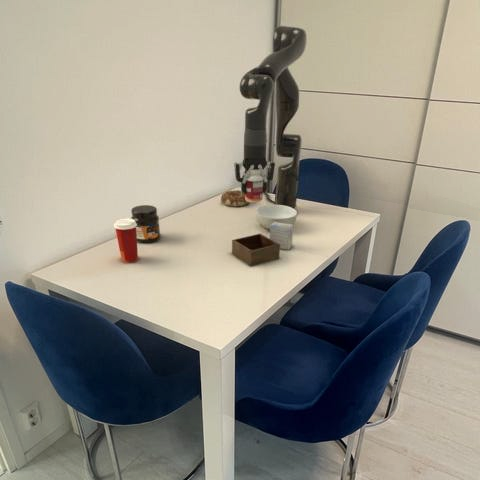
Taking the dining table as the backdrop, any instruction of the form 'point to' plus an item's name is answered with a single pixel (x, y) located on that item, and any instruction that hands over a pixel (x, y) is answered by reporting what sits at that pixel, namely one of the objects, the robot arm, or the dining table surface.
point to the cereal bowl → (275, 215)
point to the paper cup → (127, 239)
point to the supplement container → (146, 223)
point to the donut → (233, 198)
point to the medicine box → (282, 234)
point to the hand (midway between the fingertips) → (253, 192)
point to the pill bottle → (254, 187)
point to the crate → (255, 249)
